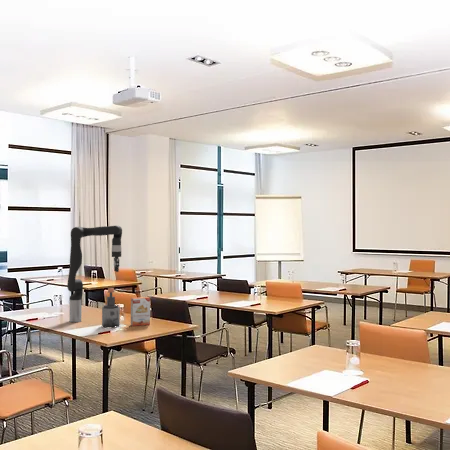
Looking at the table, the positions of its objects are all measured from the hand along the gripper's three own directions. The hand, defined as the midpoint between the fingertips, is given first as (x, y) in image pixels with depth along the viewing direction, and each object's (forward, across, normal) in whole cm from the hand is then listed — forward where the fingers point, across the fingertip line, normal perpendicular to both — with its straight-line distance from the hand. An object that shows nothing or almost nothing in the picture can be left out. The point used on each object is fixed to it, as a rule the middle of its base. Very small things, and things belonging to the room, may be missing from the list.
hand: (116, 271), depth 417 cm
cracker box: (+40, +17, +16) cm, 47 cm away
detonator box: (+40, +16, -6) cm, 44 cm away
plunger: (+24, +14, -6) cm, 28 cm away
